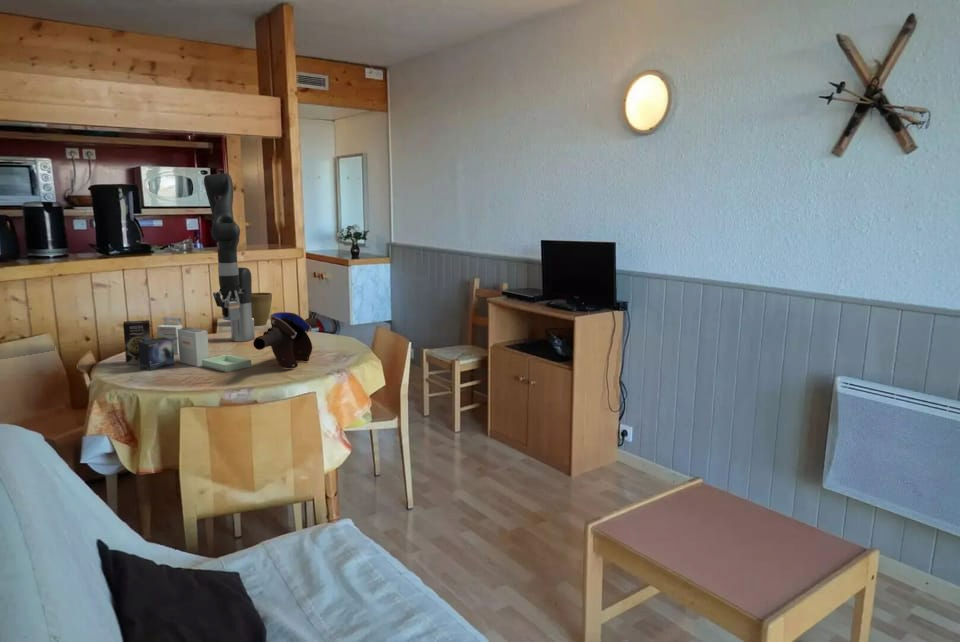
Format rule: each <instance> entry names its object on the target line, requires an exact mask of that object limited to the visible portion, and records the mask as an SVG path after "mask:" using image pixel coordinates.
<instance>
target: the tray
mask: <svg viewBox="0 0 960 642" xmlns="http://www.w3.org/2000/svg"><path fill="white" fill-rule="evenodd" d="M201 367H204V368H207V369H211V370H216V371H220V372H224V373H229V372H233V371H237V370H241V369H246V368H250V367H252V359H249V358H245V357H240V356H235V355H232V354H224V355H219V356H214V357H209V358H208V359H203V360H202V365H201Z"/></svg>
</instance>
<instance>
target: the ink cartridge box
mask: <svg viewBox="0 0 960 642" xmlns="http://www.w3.org/2000/svg"><path fill="white" fill-rule="evenodd" d="M172 320H173V321H172ZM162 321H163V324H161V325H157V326H156V329H157V331H156V332H157V333H156V334H157V338H163V337H165V338H168V339H173V348H174V356H175V355H176V356H177V355H179V343H178V330H177V329H181V328H183V324H182V318H181V317H164V316H163V318H162Z"/></svg>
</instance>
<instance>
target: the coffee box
mask: <svg viewBox="0 0 960 642" xmlns="http://www.w3.org/2000/svg"><path fill="white" fill-rule="evenodd" d="M150 323H151V322H150V320H128V321H123V322H122V325H123V327H122V328H123V339H124V350H125V351H124V352H125V354H124V355H125V364H127V365H128V364H130V365H140V360H139V344H138V342H139V341H145V340H151V326H150V325H151V324H150Z"/></svg>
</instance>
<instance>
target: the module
mask: <svg viewBox="0 0 960 642" xmlns="http://www.w3.org/2000/svg"><path fill="white" fill-rule="evenodd" d="M227 308H228V317H224V316H223V315H222V318H223V320H224V321H229V322H231V321H232V320H238V319H240V310H239V308H240V307H239V302H236V301H229V302H228V305H227Z"/></svg>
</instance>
